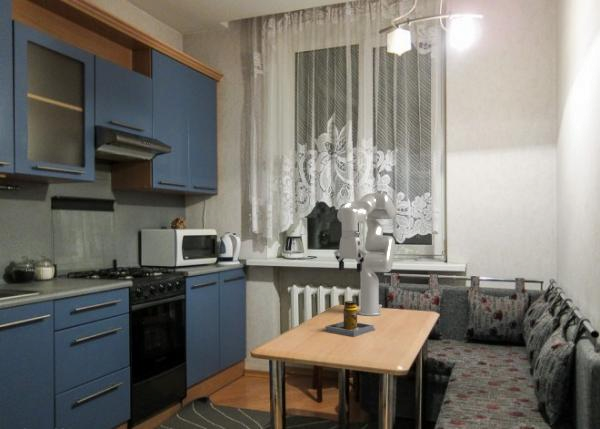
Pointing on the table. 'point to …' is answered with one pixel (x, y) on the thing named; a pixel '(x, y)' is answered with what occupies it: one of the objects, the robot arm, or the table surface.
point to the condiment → (350, 316)
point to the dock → (361, 330)
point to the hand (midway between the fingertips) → (350, 270)
